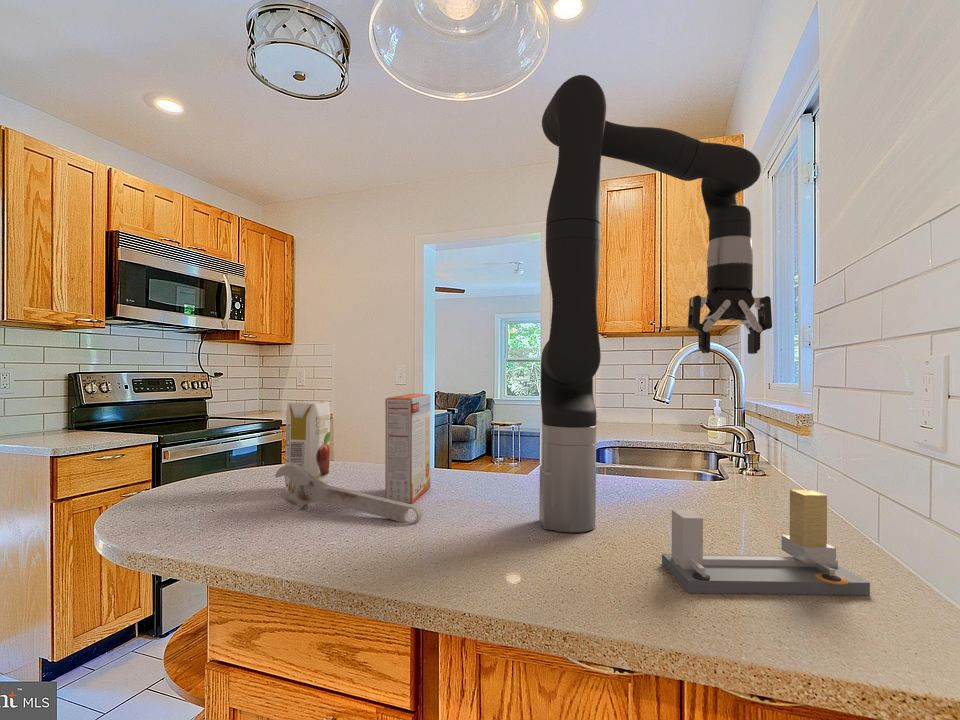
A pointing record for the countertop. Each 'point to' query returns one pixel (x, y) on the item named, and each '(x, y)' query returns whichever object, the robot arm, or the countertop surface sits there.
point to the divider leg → (809, 530)
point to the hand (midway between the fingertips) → (729, 353)
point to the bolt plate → (747, 568)
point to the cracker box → (407, 447)
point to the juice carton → (308, 438)
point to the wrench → (341, 496)
